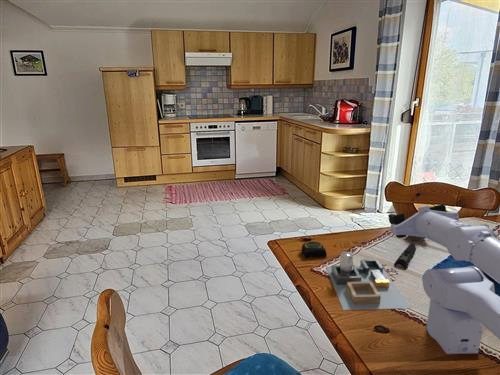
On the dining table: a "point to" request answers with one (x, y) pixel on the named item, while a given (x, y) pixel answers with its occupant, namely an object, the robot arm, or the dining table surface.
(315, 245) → the tape measure
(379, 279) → the key
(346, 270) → the frosted capsule tube
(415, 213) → the vase
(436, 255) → the dining table surface
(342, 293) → the board
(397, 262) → the electric trimmer
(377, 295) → the brown piece
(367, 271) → the socket
